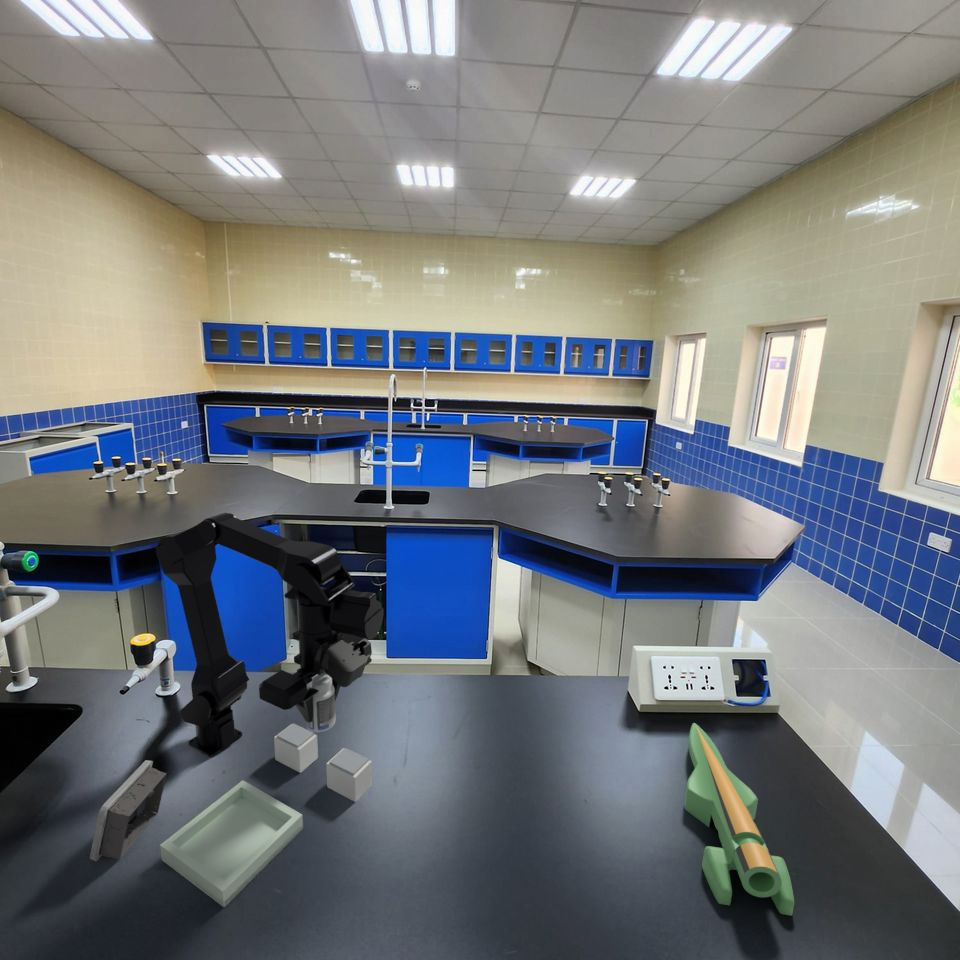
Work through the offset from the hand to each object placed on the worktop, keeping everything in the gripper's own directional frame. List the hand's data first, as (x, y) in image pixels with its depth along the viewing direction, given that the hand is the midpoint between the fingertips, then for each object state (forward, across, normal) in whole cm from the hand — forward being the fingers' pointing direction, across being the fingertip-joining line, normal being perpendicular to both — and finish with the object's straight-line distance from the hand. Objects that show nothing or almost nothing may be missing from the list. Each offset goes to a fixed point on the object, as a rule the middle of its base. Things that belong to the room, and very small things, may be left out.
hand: (320, 712), depth 84 cm
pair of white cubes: (+11, 0, 0) cm, 11 cm away
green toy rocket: (+12, +25, -60) cm, 66 cm away
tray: (+11, -16, +1) cm, 20 cm away
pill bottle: (+2, 0, 0) cm, 2 cm away
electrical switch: (+12, -22, +15) cm, 29 cm away
